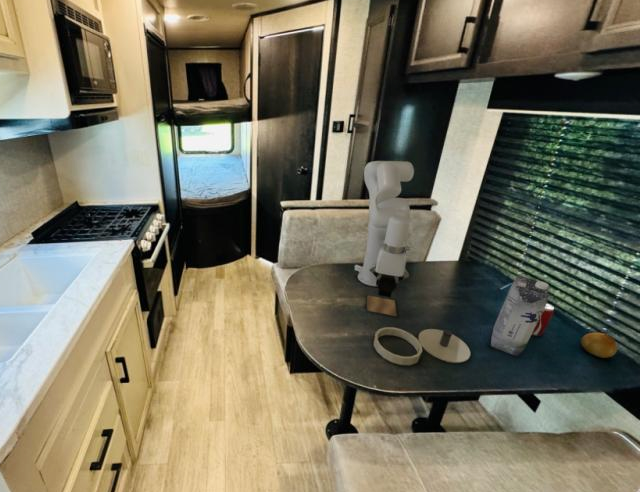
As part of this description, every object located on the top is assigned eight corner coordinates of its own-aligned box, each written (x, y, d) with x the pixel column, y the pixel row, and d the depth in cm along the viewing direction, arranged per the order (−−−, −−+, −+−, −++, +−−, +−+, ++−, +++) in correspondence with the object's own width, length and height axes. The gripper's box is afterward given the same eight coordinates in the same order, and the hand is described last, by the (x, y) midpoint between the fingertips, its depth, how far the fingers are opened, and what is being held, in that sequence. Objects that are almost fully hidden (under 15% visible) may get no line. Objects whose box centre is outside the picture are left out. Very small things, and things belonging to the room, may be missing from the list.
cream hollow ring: (366, 349, 109) (367, 341, 107) (383, 328, 118) (385, 321, 116) (410, 373, 99) (412, 365, 98) (425, 349, 108) (428, 342, 107)
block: (378, 295, 126) (381, 278, 123) (377, 289, 130) (381, 272, 127) (390, 297, 125) (394, 280, 121) (389, 291, 128) (393, 274, 125)
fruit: (623, 362, 100) (625, 337, 100) (588, 355, 103) (589, 331, 104) (607, 357, 107) (609, 334, 108) (575, 351, 110) (576, 328, 111)
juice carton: (487, 347, 109) (515, 282, 98) (490, 331, 116) (517, 269, 105) (520, 360, 104) (553, 293, 92) (521, 343, 111) (553, 279, 99)
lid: (411, 346, 110) (415, 332, 107) (426, 325, 120) (430, 311, 117) (462, 372, 100) (468, 357, 97) (474, 346, 109) (480, 332, 107)
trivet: (366, 311, 127) (367, 310, 127) (367, 296, 137) (367, 295, 136) (396, 317, 124) (396, 316, 124) (394, 301, 133) (394, 300, 133)
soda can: (542, 338, 113) (556, 312, 108) (523, 332, 116) (536, 306, 110) (541, 330, 116) (554, 304, 111) (523, 325, 119) (535, 299, 114)
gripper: (417, 247, 119) (407, 287, 127) (370, 240, 125) (363, 279, 132) (420, 255, 113) (409, 297, 120) (370, 248, 118) (362, 288, 126)
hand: (385, 287), depth 126 cm, fingers closed on block, 4 cm apart
